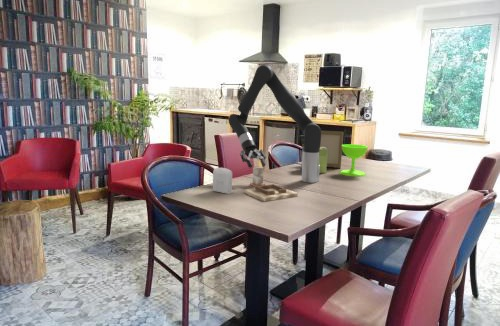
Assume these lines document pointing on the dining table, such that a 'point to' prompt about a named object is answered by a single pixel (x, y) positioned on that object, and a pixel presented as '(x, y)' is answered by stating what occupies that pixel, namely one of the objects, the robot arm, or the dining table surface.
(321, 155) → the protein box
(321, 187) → the dining table surface
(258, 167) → the bobbin
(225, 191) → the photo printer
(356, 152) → the wineglass
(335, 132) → the photo frame
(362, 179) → the dining table surface
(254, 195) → the cradle board
